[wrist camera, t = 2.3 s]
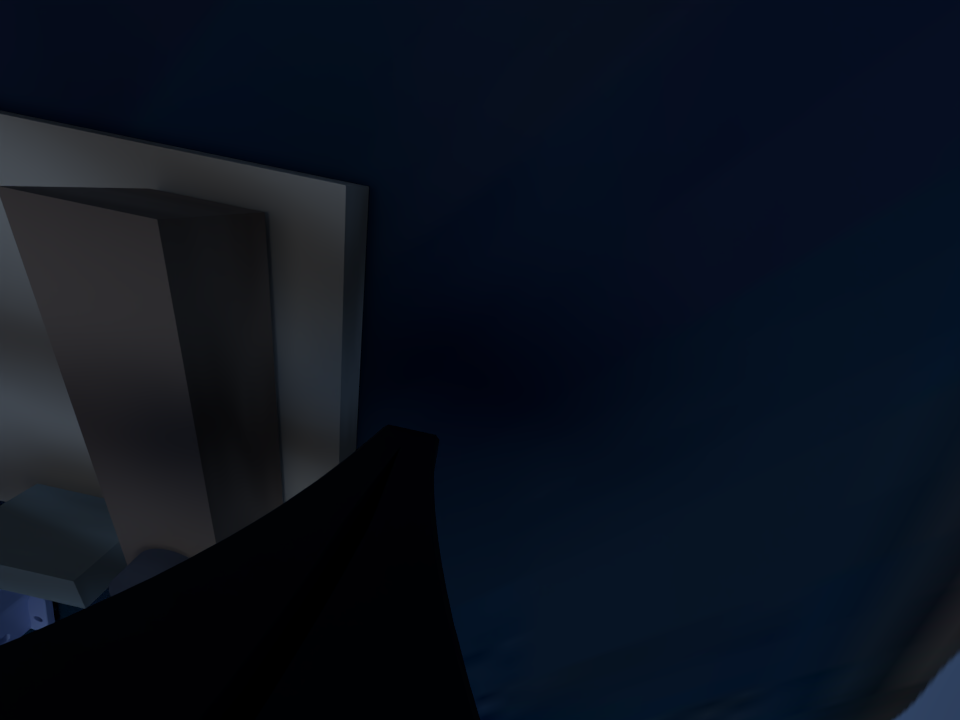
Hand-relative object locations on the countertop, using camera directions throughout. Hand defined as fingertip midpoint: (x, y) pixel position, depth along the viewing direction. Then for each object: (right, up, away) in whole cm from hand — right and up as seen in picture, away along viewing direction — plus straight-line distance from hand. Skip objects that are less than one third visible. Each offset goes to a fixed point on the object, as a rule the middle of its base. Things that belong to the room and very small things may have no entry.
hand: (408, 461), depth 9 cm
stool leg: (-6, +1, +2) cm, 7 cm away
